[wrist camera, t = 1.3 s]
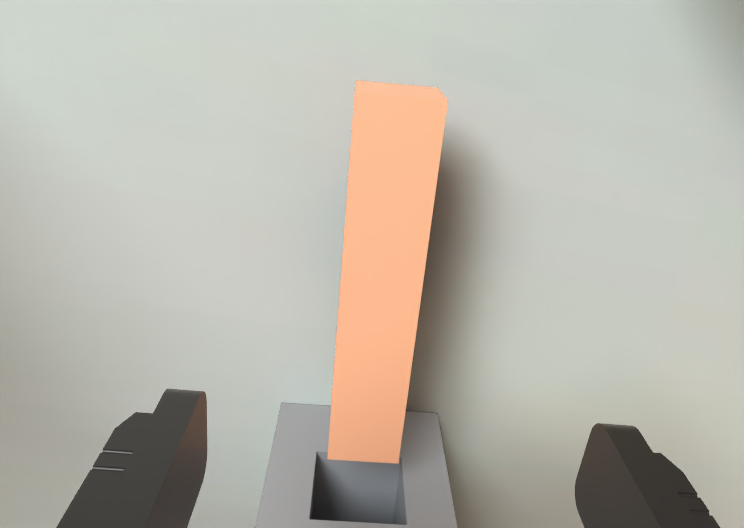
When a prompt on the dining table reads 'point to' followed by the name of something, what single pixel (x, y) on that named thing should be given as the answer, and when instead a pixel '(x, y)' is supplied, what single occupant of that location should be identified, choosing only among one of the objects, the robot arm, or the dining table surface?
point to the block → (354, 478)
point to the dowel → (383, 264)
